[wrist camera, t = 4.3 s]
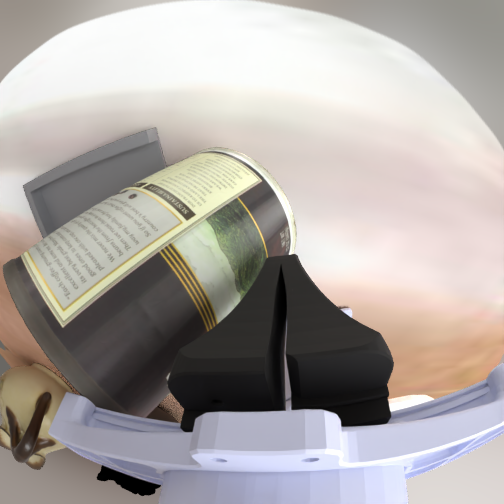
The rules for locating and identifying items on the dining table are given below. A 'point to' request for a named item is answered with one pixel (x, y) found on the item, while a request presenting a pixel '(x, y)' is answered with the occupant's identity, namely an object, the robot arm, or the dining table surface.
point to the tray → (92, 179)
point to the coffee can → (150, 274)
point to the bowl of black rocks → (129, 481)
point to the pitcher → (30, 412)
